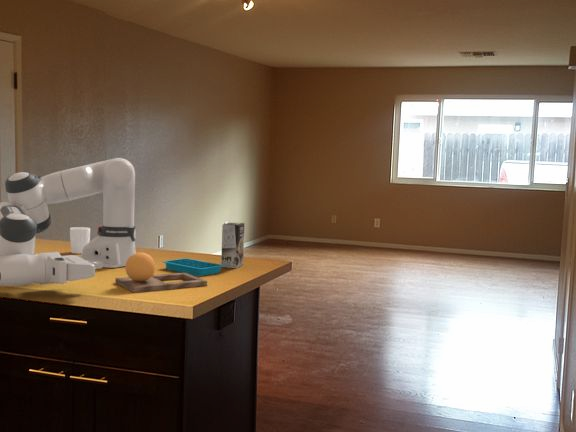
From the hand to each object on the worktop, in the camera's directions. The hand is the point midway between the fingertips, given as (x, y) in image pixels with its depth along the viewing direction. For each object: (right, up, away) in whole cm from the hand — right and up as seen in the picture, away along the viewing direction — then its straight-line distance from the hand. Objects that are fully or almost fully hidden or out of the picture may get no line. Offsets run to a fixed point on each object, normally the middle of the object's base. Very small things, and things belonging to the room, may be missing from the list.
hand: (101, 264), depth 188 cm
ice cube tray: (+22, -6, +37) cm, 43 cm away
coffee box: (+35, -5, +49) cm, 60 cm away
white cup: (-29, -1, +69) cm, 75 cm away
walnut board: (+16, -7, +12) cm, 21 cm away
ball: (+10, -1, +7) cm, 12 cm away
